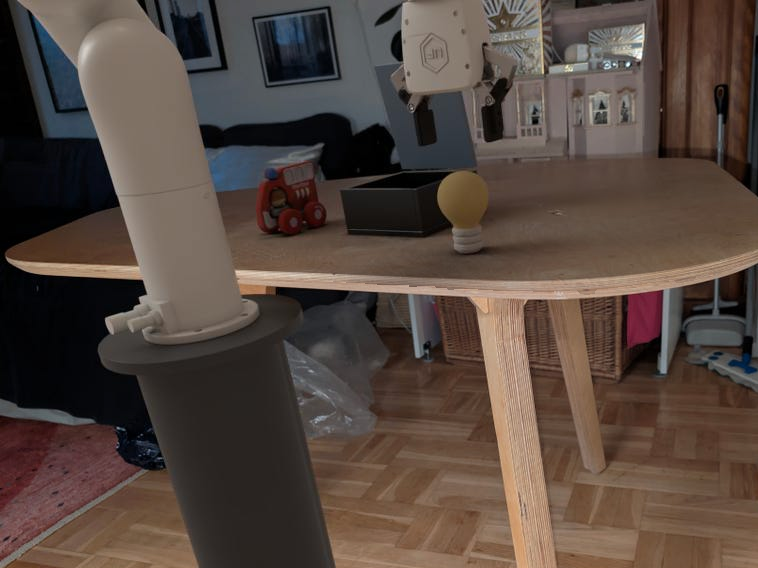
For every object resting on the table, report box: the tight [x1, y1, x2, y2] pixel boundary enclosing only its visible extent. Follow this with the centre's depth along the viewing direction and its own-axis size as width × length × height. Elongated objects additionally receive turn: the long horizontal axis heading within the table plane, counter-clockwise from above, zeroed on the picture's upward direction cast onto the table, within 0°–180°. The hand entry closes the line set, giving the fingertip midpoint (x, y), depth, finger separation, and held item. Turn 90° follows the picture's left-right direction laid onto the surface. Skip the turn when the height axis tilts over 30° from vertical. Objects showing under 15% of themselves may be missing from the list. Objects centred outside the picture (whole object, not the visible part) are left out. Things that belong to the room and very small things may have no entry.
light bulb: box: [437, 171, 490, 254], centre depth 88 cm, size 6×6×10 cm
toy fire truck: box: [255, 160, 328, 235], centre depth 114 cm, size 7×12×10 cm, turn 144°
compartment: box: [339, 169, 478, 238], centre depth 108 cm, size 16×15×7 cm
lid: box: [373, 60, 478, 170], centre depth 110 cm, size 16×15×5 cm
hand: (460, 142), depth 84 cm, fingers open, 9 cm apart
